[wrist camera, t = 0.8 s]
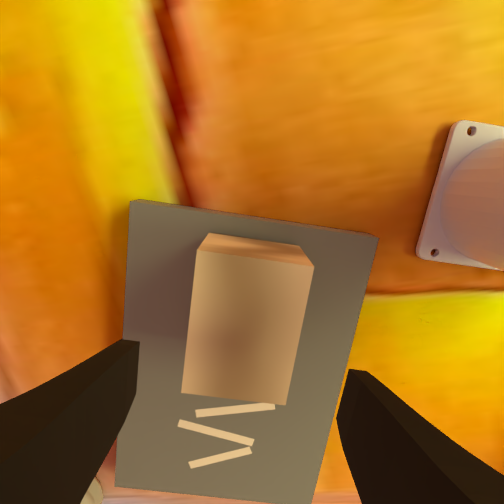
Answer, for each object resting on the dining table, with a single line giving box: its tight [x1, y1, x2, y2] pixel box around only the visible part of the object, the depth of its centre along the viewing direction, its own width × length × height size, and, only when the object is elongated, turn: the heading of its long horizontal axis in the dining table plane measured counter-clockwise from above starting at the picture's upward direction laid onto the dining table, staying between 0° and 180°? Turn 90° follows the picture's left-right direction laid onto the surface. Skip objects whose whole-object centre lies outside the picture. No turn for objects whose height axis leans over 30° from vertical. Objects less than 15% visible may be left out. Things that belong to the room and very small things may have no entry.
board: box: [115, 199, 379, 504], centre depth 20 cm, size 14×20×2 cm
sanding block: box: [181, 233, 314, 405], centre depth 16 cm, size 5×7×4 cm
